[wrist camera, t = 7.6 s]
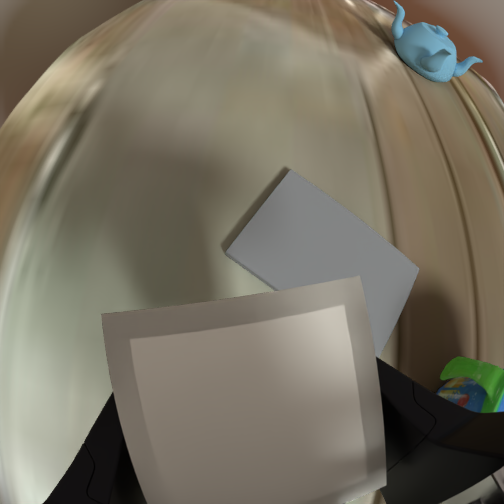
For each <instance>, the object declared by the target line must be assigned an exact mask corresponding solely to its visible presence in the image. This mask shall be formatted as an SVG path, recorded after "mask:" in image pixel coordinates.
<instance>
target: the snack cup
mask: <svg viewBox="0 0 504 504" xmlns="http://www.w3.org/2000/svg"><path fill="white" fill-rule="evenodd" d="M451 378H454V379H452V380H450V381H448V382H447V383H446V384H445V385H444V386H443V387H441V388H440V389H438V391H437V393H436V394H437V395H439V396H441V397H443V398H445V399H447V400H449V401H451V402H453V403H455V404H458V405H460V406H462V407H464V408H466V409H468V410H471V411H474V412H479V413H489V412H502V411H504V369H501V368H499V367H498V366H494V365H492V364H490V363H486V362H482V361H479V360H474V359H470V358H466V357H456V358H453V359H452V360H451V361H450V362H449V363H448V364H447V365H446V366H445V368H444V370H443V371H442V373H441V375H440V379H441V380H447V379H451Z"/></svg>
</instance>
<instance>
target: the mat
mask: <svg viewBox="0 0 504 504" xmlns="http://www.w3.org/2000/svg"><path fill="white" fill-rule="evenodd" d="M225 255H226V256H228V257H229V258H231V259H232V260H233V261H235V262H236V263H238V264H239V265H240V266H242V267H243V268H244V269H246V270H247V271H249V272H250V273H251V274H253V275H254V276H256V277H257V278H258V279H260V280H261V281H263V282H264V283H265V284H267V285H268V286H269V287H271V288H272V289H274V290H275V291H278V290H284V289H290V288H296V287H301V286H307V285H313V284H318V283H324V282H329V281H334V280H340V279H345V278H350V277H355V276H360V278H361V282H362V287H363V291H364V296H365V301H366V306H367V311H368V316H369V321H370V326H371V332H372V338H373V344H374V350H375V356H376V357H378V358H379V356H380V354H381V352H382V351H383V349H384V347H385V345H386V343H387V341H388V339H389V337H390V335H391V333H392V331H393V329H394V327H395V325H396V323H397V321H398V318H399V316H400V314H401V312H402V310H403V308H404V305H405V303H406V301H407V298H408V296H409V294H410V291H411V289H412V287H413V284H414V282H415V279H416V277H417V274H418V272H419V268H418V267H417V266H416V265H415V264H414V263H413V262H411V261H410V260H409V259H408V258H407V257H406V256H404V255H403V254H402V253H401V252H400V251H399V250H397V249H396V248H395V247H394V246H393V245H391V244H390V243H389V242H388V241H387V240H385V239H384V238H383V237H382V236H381V235H379V234H378V233H377V232H376V231H374V230H373V229H372V228H371V227H369V226H368V225H367V224H365V223H364V222H363V221H362V220H360V219H359V218H358V217H357V216H355V215H354V214H353V213H351V212H350V211H349V210H347V209H346V208H345V207H343V206H342V205H341V204H339V203H338V202H337V201H335V200H334V199H333V198H331V197H330V196H328V195H327V194H326V193H324V192H323V191H322V190H320V189H319V188H317V187H316V186H315V185H313V184H312V183H310V182H309V181H307V180H306V179H305V178H303V177H302V176H300V175H299V174H297V173H296V172H294V171H293V170H290V171H289V172H288V173H287V175H286V176H285V177H284V178H283V180H282V181H281V182H280V183H279V185H278V186H277V187H276V188H275V190H274V191H273V192H272V193H271V195H270V196H269V197H268V198H267V200H266V201H265V202H264V203H263V205H262V206H261V207H260V209H259V210H258V211H257V212H256V214H255V215H254V216H253V217H252V219H251V220H250V221H249V222H248V224H247V225H246V226H245V228H244V229H243V230H242V231H241V233H240V234H239V235H238V237H237V238H236V239H235V240H234V242H233V243H232V244H231V246H230V247H229V248H228V249H227V251H226V253H225Z"/></svg>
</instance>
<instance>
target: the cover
mask: <svg viewBox="0 0 504 504" xmlns="http://www.w3.org/2000/svg"><path fill="white" fill-rule="evenodd" d="M101 316H102V325H103V334H104V341H105V348H106V355H107V361H108V367H109V373H110V378H111V383H112V388H113V393H114V398H115V402H116V407H117V411H118V415H119V419H120V423H121V427H122V430H123V434H124V438H125V441H126V445H127V448H128V451H129V454H130V458H131V461H132V464H133V467H134V470H135V473H136V476H137V478H138V481H139V484H140V487H141V489H142V492H143V494H144V497H145V499H146V502H147V504H345V503H347V502H350V501H352V500H355V499H357V498H360V497H362V496H364V495H367V494H369V493H371V492H373V491H375V490H378V489H380V488H382V487H384V486H386V485H387V484H386V452H385V435H384V422H383V411H382V402H381V393H380V385H379V377H378V370H377V363H376V356H375V350H374V344H373V338H372V332H371V326H370V321H369V316H368V311H367V306H366V301H365V296H364V291H363V287H362V282H361V278H360V276H355V277H350V278H345V279H340V280H334V281H329V282H324V283H318V284H313V285H307V286H301V287H296V288H290V289H284V290H278V291H272V292H266V293H260V294H253V295H247V296H240V297H234V298H227V299H220V300H213V301H206V302H199V303H191V304H184V305H176V306H168V307H160V308H151V309H143V310H134V311H125V312H115V313H105V314H101Z"/></svg>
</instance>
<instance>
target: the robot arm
mask: <svg viewBox="0 0 504 504" xmlns="http://www.w3.org/2000/svg"><path fill="white" fill-rule="evenodd" d="M376 363H377V370H378V377H379V385H380V393H381V402H382V411H383V422H384V435H385V452H386V484H387V485H386V486H384V487H382V488H380V491H381V493H382V495H383V497H384V499H385V501H386V504H504V411H502V412H489V413H479V412H474V411H471V410H468V409H466V408H464V407H462V406H460V405H458V404H455V403H453V402H451V401H449V400H447V399H445V398H443V397H441V396H439V395H437V394H435V393H433V392H432V391H430V390H428V389H426V388H425V387H423V386H421V385H420V384H418V383H417V382H415V381H412V379H410V378H409V377H407V376H406V375H404V374H402V373H401V372H399V371H398V370H396V369H395V368H393V367H392V366H390V365H388V364H387V363H385V362H384V361H382V360H381V359H379V358H378V357H376ZM43 504H147V502H146V499H145V497H144V494H143V492H142V489H141V487H140V484H139V481H138V478H137V476H136V473H135V470H134V467H133V464H132V461H131V458H130V454H129V451H128V448H127V445H126V441H125V438H124V434H123V430H122V427H121V423H120V419H119V415H118V411H117V407H116V402H115V398H114V393H113V392H112V394H111V396H110V397H109V399H108V401H107V402H106V404H105V406H104V407H103V409H102V411H101V413H100V414H99V416H98V418H97V420H96V421H95V423H94V425H93V427H92V428H91V430H90V432H89V434H88V436H87V437H86V439H85V441H84V443H83V444H82V446H81V448H80V450H79V452H78V453H77V455H76V457H75V459H74V460H73V462H72V464H71V465H70V467H69V468H68V470H67V471H66V473H65V474H64V476H63V477H62V479H61V480H60V481H59V483H58V484H57V486H56V487H55V488H54V490H53V491H52V493H51V494H50V496H49V497H48V498H47V500H46V501H45V502H44V503H43Z"/></svg>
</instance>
